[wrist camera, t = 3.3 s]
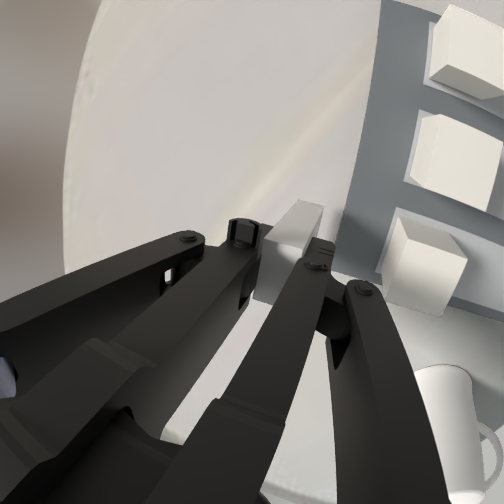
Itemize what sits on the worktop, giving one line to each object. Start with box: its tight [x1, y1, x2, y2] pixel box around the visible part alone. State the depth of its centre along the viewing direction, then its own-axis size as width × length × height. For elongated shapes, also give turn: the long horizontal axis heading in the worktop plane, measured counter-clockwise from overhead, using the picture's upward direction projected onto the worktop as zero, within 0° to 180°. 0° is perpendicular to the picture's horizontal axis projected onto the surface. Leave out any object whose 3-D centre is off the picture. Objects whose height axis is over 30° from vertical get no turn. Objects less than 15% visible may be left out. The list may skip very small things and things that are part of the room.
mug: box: [414, 365, 503, 504], centre depth 16 cm, size 12×8×12 cm
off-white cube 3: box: [381, 216, 468, 317], centre depth 15 cm, size 4×4×4 cm
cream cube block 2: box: [410, 114, 503, 212], centre depth 12 cm, size 4×4×4 cm
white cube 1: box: [429, 4, 504, 100], centre depth 9 cm, size 4×4×4 cm
